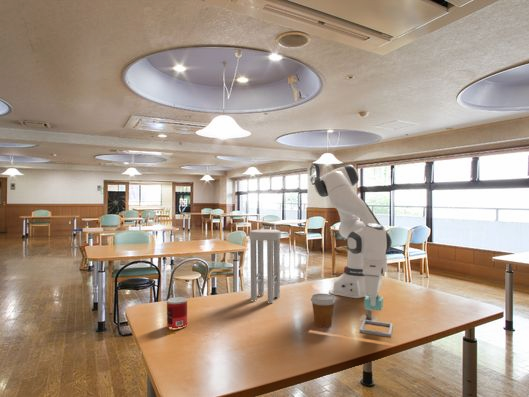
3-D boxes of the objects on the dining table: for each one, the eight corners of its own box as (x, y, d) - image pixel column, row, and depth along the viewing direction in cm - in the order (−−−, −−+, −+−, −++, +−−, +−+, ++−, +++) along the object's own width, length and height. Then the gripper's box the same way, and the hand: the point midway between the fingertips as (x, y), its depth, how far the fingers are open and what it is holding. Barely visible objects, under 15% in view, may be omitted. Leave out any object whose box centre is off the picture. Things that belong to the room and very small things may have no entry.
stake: (358, 322, 136) (358, 310, 136) (361, 317, 142) (361, 305, 142) (376, 325, 133) (376, 313, 133) (378, 319, 139) (378, 307, 139)
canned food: (190, 324, 136) (190, 297, 136) (179, 331, 128) (179, 303, 128) (174, 322, 138) (174, 295, 138) (163, 329, 131) (162, 301, 131)
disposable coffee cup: (320, 333, 126) (320, 301, 126) (306, 324, 134) (306, 295, 134) (340, 328, 130) (340, 298, 130) (325, 320, 138) (325, 292, 138)
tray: (359, 334, 124) (359, 329, 124) (363, 324, 134) (363, 319, 134) (390, 339, 119) (390, 334, 119) (392, 328, 129) (392, 323, 129)
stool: (245, 301, 164) (244, 231, 164) (257, 293, 179) (257, 228, 179) (274, 305, 159) (273, 232, 159) (284, 296, 173) (284, 229, 173)
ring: (364, 308, 125) (364, 299, 125) (366, 303, 131) (366, 295, 131) (381, 310, 123) (381, 301, 123) (382, 305, 128) (382, 296, 128)
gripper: (369, 261, 137) (369, 294, 137) (361, 270, 119) (362, 309, 119) (385, 262, 135) (385, 296, 135) (380, 272, 116) (380, 311, 116)
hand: (374, 302), depth 127 cm, fingers closed on ring, 6 cm apart
